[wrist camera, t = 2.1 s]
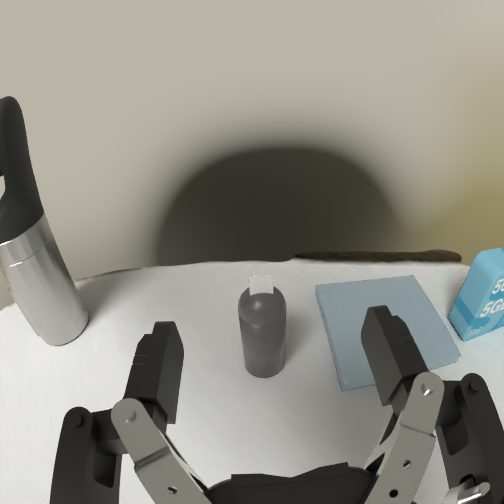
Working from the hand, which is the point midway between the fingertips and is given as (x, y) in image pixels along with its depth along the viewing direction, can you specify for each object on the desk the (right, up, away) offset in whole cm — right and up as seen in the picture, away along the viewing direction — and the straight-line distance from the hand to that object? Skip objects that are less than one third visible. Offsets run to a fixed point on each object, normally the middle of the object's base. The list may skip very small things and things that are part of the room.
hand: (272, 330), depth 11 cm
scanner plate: (+16, -7, +22) cm, 28 cm away
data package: (+32, -7, +20) cm, 39 cm away
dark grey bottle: (+1, -9, +20) cm, 22 cm away
